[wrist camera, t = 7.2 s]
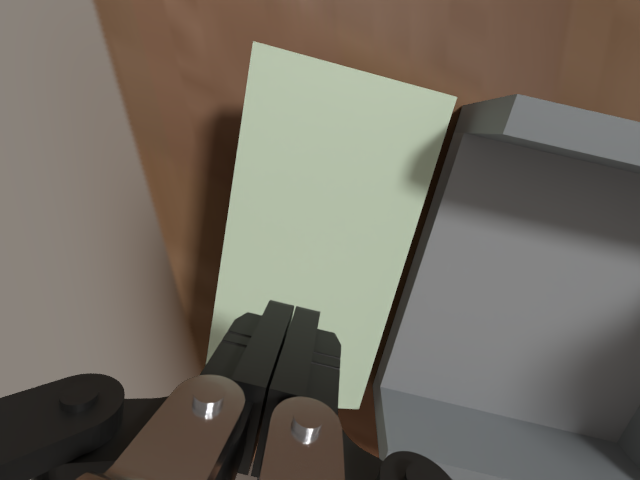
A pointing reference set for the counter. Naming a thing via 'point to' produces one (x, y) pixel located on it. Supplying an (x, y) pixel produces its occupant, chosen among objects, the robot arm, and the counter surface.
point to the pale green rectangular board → (326, 199)
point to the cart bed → (523, 302)
